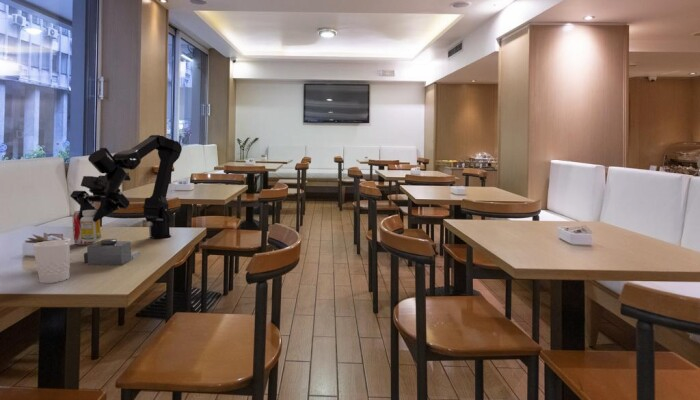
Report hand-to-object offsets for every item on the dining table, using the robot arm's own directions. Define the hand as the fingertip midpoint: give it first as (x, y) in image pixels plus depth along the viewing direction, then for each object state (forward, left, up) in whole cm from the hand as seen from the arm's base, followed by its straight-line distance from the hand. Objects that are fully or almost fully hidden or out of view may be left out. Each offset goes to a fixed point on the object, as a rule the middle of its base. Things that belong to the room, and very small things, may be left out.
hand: (86, 220), depth 137 cm
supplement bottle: (-1, -1, -7) cm, 7 cm away
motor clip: (-5, +7, -12) cm, 15 cm away
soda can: (-2, -25, -12) cm, 28 cm away
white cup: (+11, +19, -12) cm, 26 cm away
